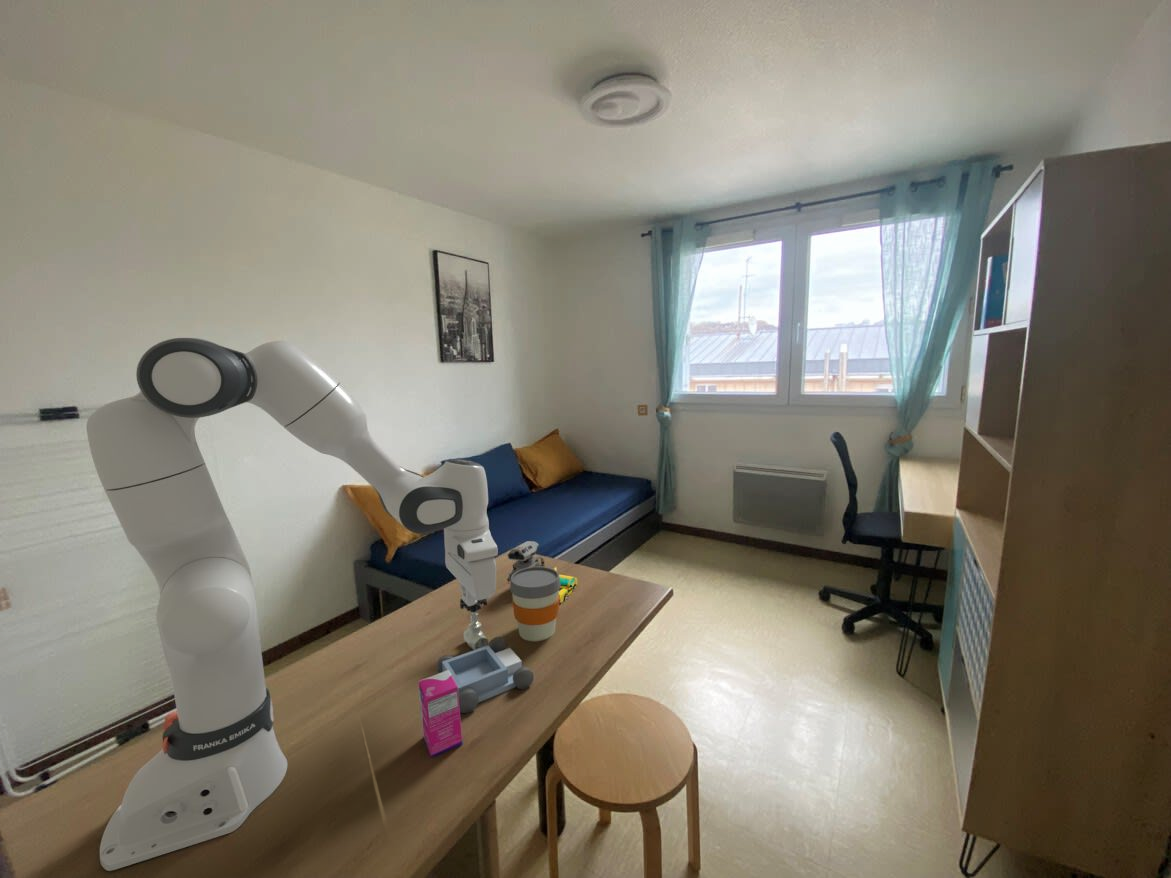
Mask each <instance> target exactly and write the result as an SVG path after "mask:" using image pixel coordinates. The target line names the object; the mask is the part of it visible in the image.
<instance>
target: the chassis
mask: <svg viewBox="0 0 1171 878" xmlns="http://www.w3.org/2000/svg"><path fill="white" fill-rule="evenodd" d="M507 647H508V645H507V642H506V641H505V640H504V638H502V637H501V636H496V637H493V638H492V639H491V640H490V641H489V642H488V646H485V647H482V648H479V649H476V650H471V651H468V652H466V653H462V654H460V655H457V656H454V657H453V656H452V655H451V654H444V655H442V656H440V657H439V659H437V661H436V663H435V668H436V671H437V672H438V673H437V674H439V673H441V672H444V671H447V670H449V671H450V673H451V675H452V677H453V678H454V680H455V682H456V684H457V686H458V695H459V707H460V713H462V714H469V713H471V712H473V711H474V710H475V709H476V708H477V707H478V705H479V703H481V702H484V701H485V700H486V701H487V700H488V699H491V698H493V697H495V696H498V695H500V694H502V693H505V692H507V691H510V690H512V689H514V688H516V687H517V688H518V689H519V690H525V689H527V688H529V687H530V686H531V685H532V684H533V681H534V672H532V670H531V669H530V667H528V666H525V665H523V663H522V659H520V657H519V656H518V655H517V654H516V653H515V651H514V650H513V649H512V648H510V647H508V648H507Z"/></svg>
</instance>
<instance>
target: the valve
mask: <svg viewBox="0 0 1171 878" xmlns="http://www.w3.org/2000/svg"><path fill="white" fill-rule="evenodd" d="M482 605H483V606H487V605H488V598H487V599H483V600H476V603H475V604H474V605H472V606H467V604H466V603H465V602H464V601H463V599H462V598H461V599H460V600H459V608H460V609H461V610H463V609H466V611H467V612H470V614H469V616H470V617H469V618H470V619H469V620H470V621H471V622H470V623H469V624H468V627H467V628H466V629H464V631H463V640H464V641H465V642H466V644H467V645H468V647H469V648H471V649H472V651H474V650H476V649H479V648H482V647H485V646H488V645H489V639H488V638H487V636H486V635H485V634H484V632H483V631H482V623H481V622H480V621H479V617H480V616H479V613H478V611H479V610H481V609H482Z"/></svg>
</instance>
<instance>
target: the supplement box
mask: <svg viewBox="0 0 1171 878" xmlns="http://www.w3.org/2000/svg"><path fill="white" fill-rule="evenodd" d="M417 685H418V686H417V687H418V697H419V707H420V709H419V710H420V719H421V726H422V728H421V729H422V737H423V739H424V743H425V744H426V747H427V749H428V752H429V755H430V758H434V757H436V756H438V755H441V754H443V753H445V752H447V751H449V750H452V749H454V748H456V747H458V746H462V745H463V744H464V743H463V732H462V731H463V730H462V719H461V711H460V707H459V695H458V686H457V684H456V682H455V680H454V678H453V677H452V675H451V673H450V671H449V670H447V671H444V672H441V673H437V674H434V675H432V676H429V677H426V678H423V679H420V680H418V681H417Z"/></svg>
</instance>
